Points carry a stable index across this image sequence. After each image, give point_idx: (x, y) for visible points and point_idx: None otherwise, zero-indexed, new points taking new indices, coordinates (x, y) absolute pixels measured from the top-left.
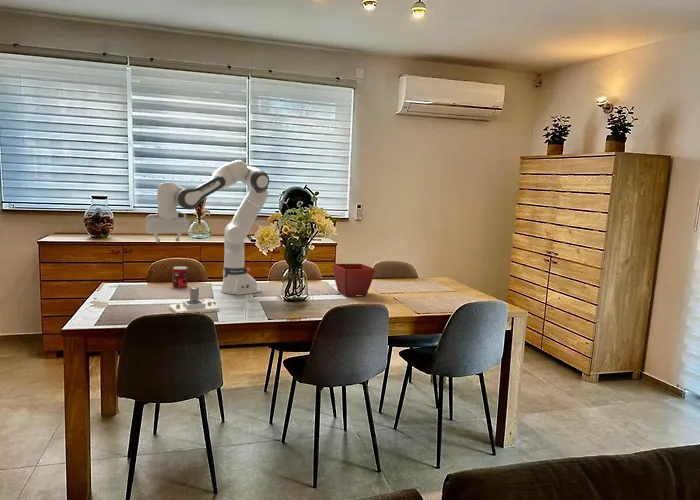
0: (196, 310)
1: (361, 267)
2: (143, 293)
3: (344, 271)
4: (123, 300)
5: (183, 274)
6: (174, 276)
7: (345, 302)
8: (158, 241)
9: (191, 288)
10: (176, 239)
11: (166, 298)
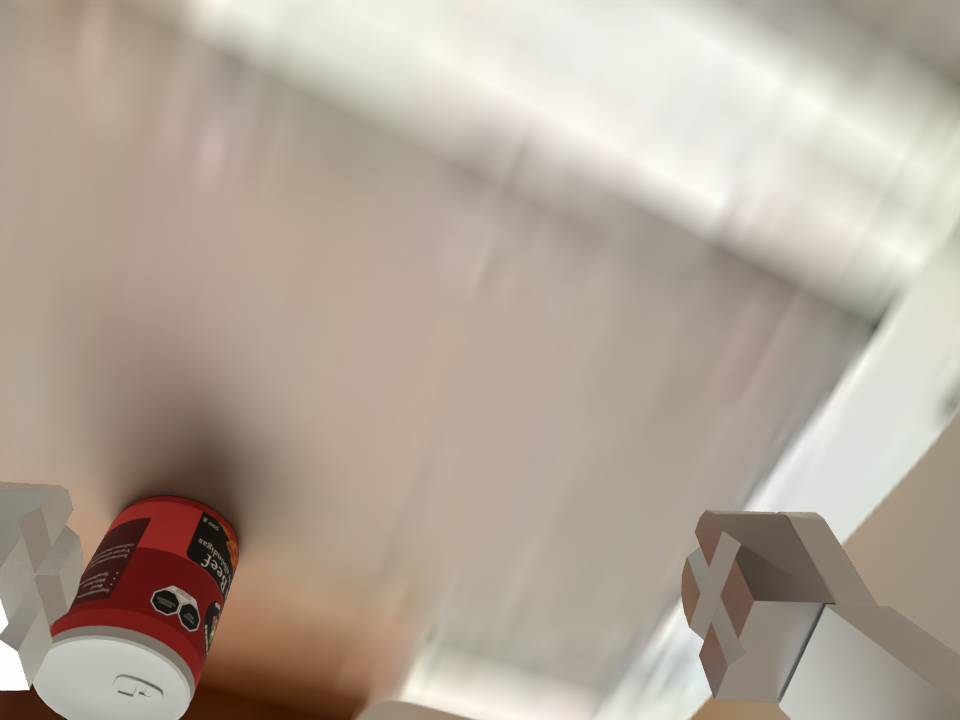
0: None
1: None
2: (551, 417)
3: None
4: (811, 245)
5: (111, 583)
6: (206, 599)
7: None
8: (781, 520)
9: None
10: (23, 538)
11: (431, 149)
